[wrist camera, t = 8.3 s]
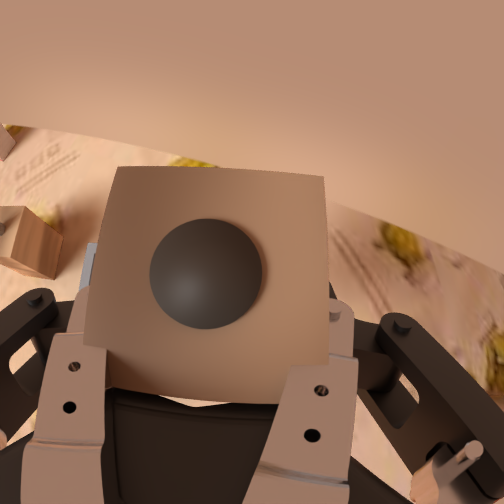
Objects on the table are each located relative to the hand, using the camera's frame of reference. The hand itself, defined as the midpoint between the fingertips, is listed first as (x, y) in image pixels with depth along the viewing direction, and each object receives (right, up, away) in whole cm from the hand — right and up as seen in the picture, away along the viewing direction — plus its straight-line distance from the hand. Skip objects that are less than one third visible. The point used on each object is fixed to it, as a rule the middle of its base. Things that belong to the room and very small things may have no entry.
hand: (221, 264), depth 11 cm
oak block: (-23, 0, +16) cm, 28 cm away
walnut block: (0, -3, +3) cm, 5 cm away
